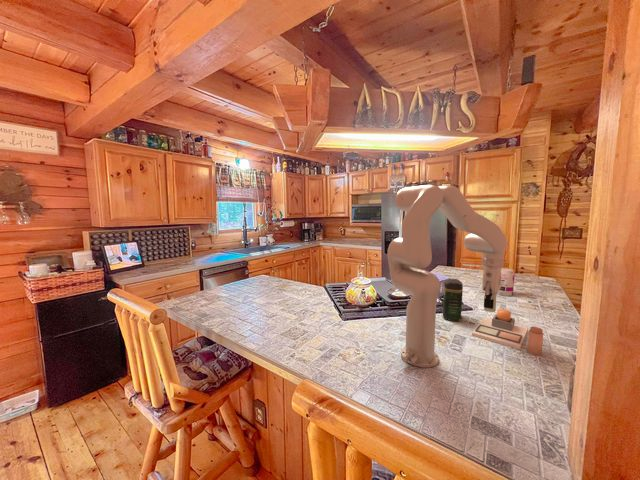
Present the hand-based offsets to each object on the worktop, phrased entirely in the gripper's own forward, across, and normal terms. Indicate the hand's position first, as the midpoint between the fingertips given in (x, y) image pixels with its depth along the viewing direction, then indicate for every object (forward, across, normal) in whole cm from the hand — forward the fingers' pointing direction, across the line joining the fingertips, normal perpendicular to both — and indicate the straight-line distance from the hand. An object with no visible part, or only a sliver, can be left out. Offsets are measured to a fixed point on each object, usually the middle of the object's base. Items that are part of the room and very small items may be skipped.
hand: (489, 305), depth 108 cm
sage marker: (+2, 0, 0) cm, 2 cm away
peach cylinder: (+12, -5, -16) cm, 20 cm away
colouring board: (+12, +4, -4) cm, 13 cm away
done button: (+8, +10, -4) cm, 13 cm away
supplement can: (+13, +62, +4) cm, 63 cm away
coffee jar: (+12, +7, +16) cm, 22 cm away
